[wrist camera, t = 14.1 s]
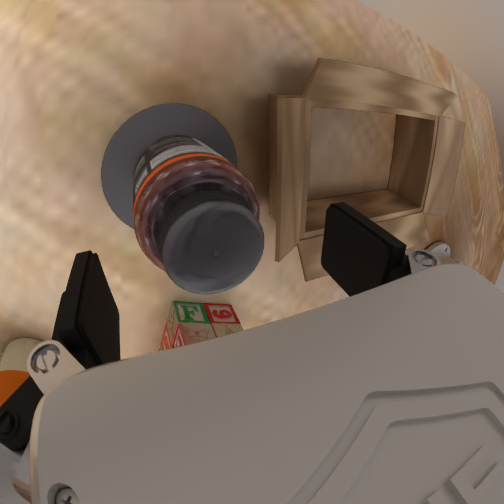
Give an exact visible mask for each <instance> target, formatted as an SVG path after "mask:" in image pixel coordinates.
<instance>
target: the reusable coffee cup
mask: <svg viewBox="0 0 504 504" xmlns="http://www.w3.org/2000/svg"><path fill="white" fill-rule="evenodd" d="M42 342H43V341H40V340H36V339H31V338H20V339H15V340H13V341H11V342H10V343H9V344H8V345H7V347H6V349H5V351H4V354H3V356H2V359H1V362H0V407H1V405H2V404H3V403H4V402H5V401H6V400H7V399H8V398H9V397H10V396H11V395H12V394H13V393H14V392H15V391H16V390H17V388H18V387H19V386H20V385H21V384H22V383H23V382H24V381H25V380H26V379H27V378H28V377H29V376H30V374H29V372H28V369H27V359H28V356H29V354H30V352H31V351H32V350H33V349H34V348H35V347H36V346H37V345H38V344H40V343H42Z"/></svg>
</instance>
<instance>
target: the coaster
mask: <svg viewBox="0 0 504 504" xmlns="http://www.w3.org/2000/svg"><path fill="white" fill-rule="evenodd" d="M170 135H186V136H190V137H192V138H195V139H197V140H199V141H201V142H202V143H204V144H205V145H207V146H208V147H210V148H211V149H212V150H214V151H216V152H217V153H218V154H220V155H221V156H222V157H224V158H225V159H227V160H228V161H230V162H231V163H232V164H233V165H234V166H235V167H237V159H236V152H235V148H234V145H233V142H232V140H231V138H230V136H229V134H228V133H227V131H226V130H225V128H224V127H223V126H222V125H221V124H220V123H219V122H218V121H217V120H216V119H215V118H214V117H212V116H211V115H210V114H208V113H206V112H204V111H202V110H201V109H198V108H195V107H192V106H188V105H183V104H162V105H158V106H153V107H151V108H148V109H145V110H143V111H141V112H139V113H137V114H135V115H134V116H133V117H131V118H130V119H128V120H127V121H126V122H125V123H124V124H123V125H122V126H121V127H120V128H119V129H118V131H117V132H116V133H115V134H114V136H113V138H112V139H111V141H110V143H109V145H108V147H107V149H106V151H105V154H104V158H103V162H102V169H101V180H102V187H103V191H104V195H105V197H106V200H107V202H108V204H109V206H110V207H111V209H112V210H113V212H114V213H115V214H116V215H117V216H118V218H119V219H121V220H122V221H123V222H124V223H125V224H127V225H128V226H130V227H131V228H133V229H134V221H133V174H134V170H135V166H136V163H137V161H138V159H139V157H140V155H141V154H142V152H143V151H144V150H145V149H146V148H147V147H148V146H149V145H150V144H152V143H153V142H154V141H156V140H158V139H160V138H163V137H165V136H170Z"/></svg>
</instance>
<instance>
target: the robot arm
mask: <svg viewBox="0 0 504 504" xmlns="http://www.w3.org/2000/svg"><path fill="white" fill-rule="evenodd" d="M406 247H407V245H406V244H404V243H403V242H402V241H400V240H399V239H398V238H396V237H395V236H393V235H392V234H391V233H389V232H388V231H386V230H385V229H383V228H382V227H381V226H379V225H378V224H376V223H375V222H373V221H372V220H370V219H369V218H367V217H366V216H364V215H363V214H361V213H360V212H358V211H357V210H355V209H354V208H352V207H351V206H349V205H348V204H346V203H345V202H339V203H332V204H330V206H329V207H328V208H327V210H326V217H325V227H324V236H323V245H322V254H321V265H322V267H323V269H324V270H325V271H326V272H327V273H328V274H329V275H330V276H331V277H332V278H333V279H334V280H335V281H336V282H337V283H338V284H339V286H340V287H341V288H342V289H343V290H344V291H345V292H346V293H347V294H348V295H349V296H350V297H348V298H345V299H342V300H339V301H336V302H334V303H331V304H328V305H325V306H322V307H319V308H316V309H313V310H310V311H306V312H303V313H300V314H297V315H294V316H291V317H287V318H284V319H281V320H277V321H274V322H271V323H267V324H264V325H260V326H257V327H253V328H250V329H246V330H243V331H239V332H235V333H232V334H228V335H224V336H220V337H217V338H213V339H209V340H205V341H201V342H197V343H193V344H189V345H185V346H180V347H176V348H172V349H167V350H163V351H158V352H154V353H149V354H145V355H141V356H136V357H132V358H128V359H123V360H120V333H119V312H118V308H117V306H116V303H115V301H114V298H113V296H112V293H111V291H110V288H109V286H108V283H107V280H106V277H105V275H104V272H103V269H102V266H101V263H100V261H99V258H98V255H97V253H94V254H93V253H92V252H91V251H85V252H81V253H77V254H76V256H75V260H74V263H73V266H72V269H71V273H70V276H69V280H68V284H67V287H66V291H65V292H63V294H62V297H61V301H60V305H59V309H58V313H57V317H56V322H55V326H54V331H53V336H52V340H47V341H44V342H42V343H40V344H38V345H37V346H36V347H35V348H34V349H33V350H32V351H31V352H30V354H29V356H28V359H27V369H28V372H29V374H30V376H29V377H28V378H27V379H26V380H25V381H24V382H23V383H22V384H21V385H20V386H19V387H18V388H17V390H16V391H15V392H14V393H13V394H12V395H11V396H10V397H9V398H8V399H7V400H6V401H5V402H4V403H3V404H2V405H1V407H0V504H504V293H503V292H501V291H500V290H499V289H498V288H497V287H495V286H494V285H493V284H492V283H491V282H490V281H488V280H487V279H486V278H484V277H483V276H482V275H481V274H479V273H478V272H476V271H475V270H473V269H472V268H470V267H468V266H464V265H463V262H462V261H458V262H455V261H454V260H453V259H451V258H450V253H451V252H450V247H449V246H448V245H447V244H446V243H444V242H442V241H441V242H436V243H434V244H432V245H431V246H429V247H428V248H427V249H426V250H423V249H413V250H410V252H409V253H408V256H407V255H405V251H406Z"/></svg>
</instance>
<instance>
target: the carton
mask: <svg viewBox="0 0 504 504" xmlns="http://www.w3.org/2000/svg"><path fill="white" fill-rule="evenodd" d="M456 96H457V95H456V94H455V93H453V92H450V91H447V90H445V89H442V88H439V87H437V86H434V85H431V84H428V83H425V82H422V81H419V80H416V79H413V78H409V77H406V76H403V75H399V74H396V73H392V72H388V71H384V70H380V69H376V68H372V67H367V66H363V65H358V64H353V63H347V62H342V61H336V60H330V59H323V58H318V60H317V62H316V65H315V67H314V69H313V72H312V74H311V77H310V79H309V81H308V84H307V86H306V89H305V91H304V93H303V95H269V214H270V215H271V216H272V217H273V218H274V219H275V220H276V249H275V261H277V262H280V261H281V260H282V259H283V258H284V257H285V256H286V255H287V254H288V253H289V252H290V251H291V250H292V249H293V248H294V247H295V246H296V245H297V247H298V251H299V256H300V260H301V264H302V269H303V273H304V278H305V281H310V280H313V279H316V278H320V277H323V276H326V275H329V274H328V273H327V272H326V271H325V270H324V269H323V267H322V265H321V254H322V245H323V236H324V227H325V217H326V210H327V208H328V207H329V206H330V204H332V203H339V202H345V203H346V204H348V205H349V206H351V207H352V208H354V209H355V210H357V211H358V212H360V213H361V214H363V215H364V216H366V217H367V218H369V219H370V220H372V221H373V222H375V223H376V224H378V225H379V226H381V227H382V228H383V229H385V230H386V231H388V232H389V233H391V234H392V235H393V236H395V237H396V238H398V239H399V240H400V241H402V242H403V243H404V244H406V245H407V247H406V249H408V248H410V247H413V246H416V245H419V244H422V243H424V242H427V241H429V236H428V231H427V226H426V221H425V217H424V213H427V214H433V215H439V216H444V217H447V214H448V210H449V206H450V202H451V198H452V194H453V190H454V186H455V181H456V176H457V171H458V166H459V161H460V155H461V149H462V143H463V136H464V128H465V123H464V122H461V121H458V120H454V119H451V118H447V117H444V116H441V114H442V113H443V112H444V111H445V109H446V108H447V107H448V106H449V105H450V103H451V102H452V101H453V99H454V98H455V97H456ZM311 107H320V108H340V109H354V110H365V111H375V112H384V113H392V114H397V119H396V130H395V139H394V148H393V156H392V164H391V171H390V177H389V184H388V189H385V190H377V191H370V192H363V193H356V194H349V195H343V196H336V197H329V198H323V199H317V200H311V201H307V196H308V180H309V161H310V138H311ZM412 214H413V215H412Z"/></svg>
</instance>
